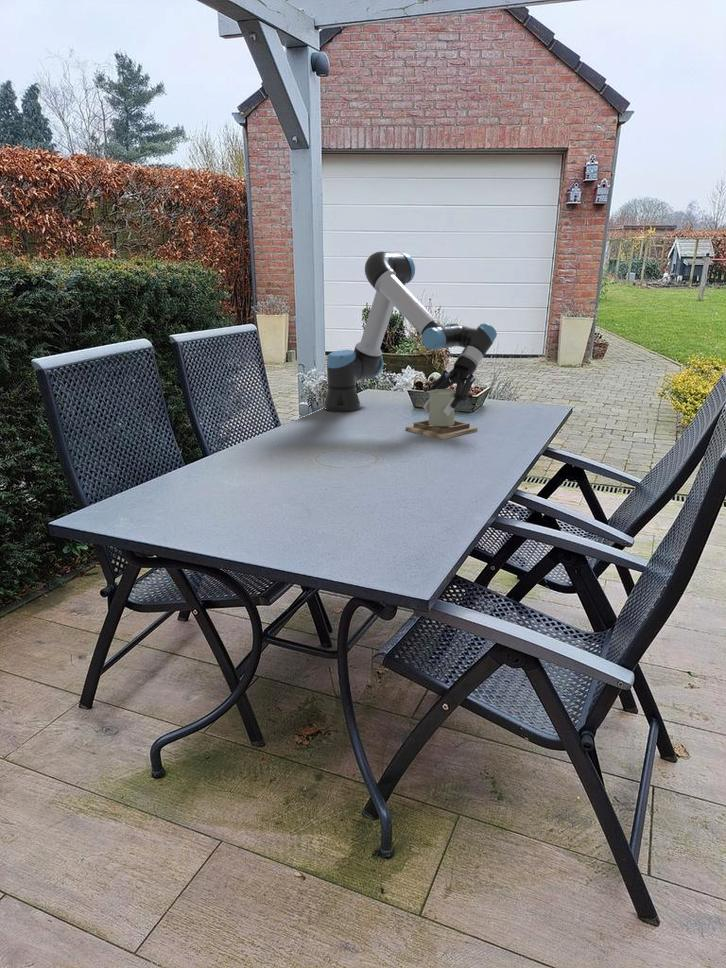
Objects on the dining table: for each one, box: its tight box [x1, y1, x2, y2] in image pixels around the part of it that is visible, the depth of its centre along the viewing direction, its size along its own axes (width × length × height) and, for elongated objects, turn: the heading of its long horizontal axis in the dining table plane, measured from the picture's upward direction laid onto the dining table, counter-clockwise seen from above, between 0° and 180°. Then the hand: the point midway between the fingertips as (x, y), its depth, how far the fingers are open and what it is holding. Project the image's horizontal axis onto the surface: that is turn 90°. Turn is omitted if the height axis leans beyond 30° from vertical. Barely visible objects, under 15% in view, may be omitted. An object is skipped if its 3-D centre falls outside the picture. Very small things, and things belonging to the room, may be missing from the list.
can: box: [428, 388, 456, 426], centre depth 225 cm, size 9×9×12 cm
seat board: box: [405, 419, 478, 440], centre depth 227 cm, size 18×18×3 cm
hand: (435, 412), depth 224 cm, fingers closed on can, 9 cm apart
